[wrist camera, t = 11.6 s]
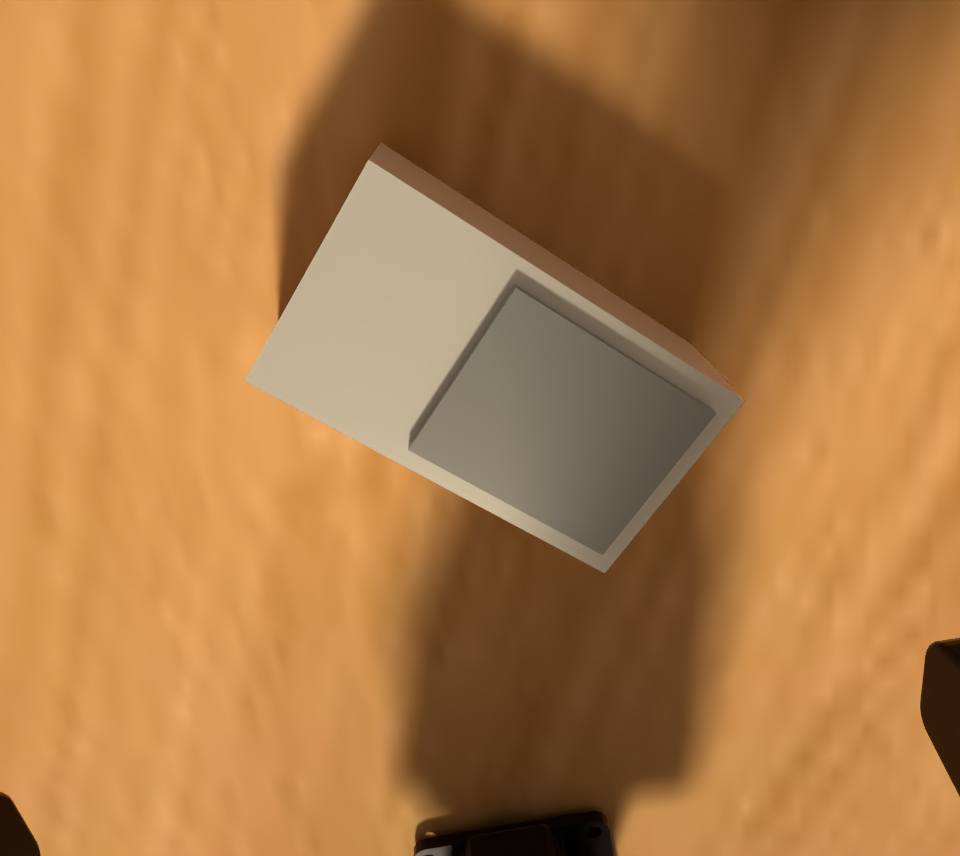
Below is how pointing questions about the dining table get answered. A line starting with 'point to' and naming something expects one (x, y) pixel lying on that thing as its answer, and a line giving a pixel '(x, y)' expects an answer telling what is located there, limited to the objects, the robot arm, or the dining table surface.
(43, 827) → the dining table surface
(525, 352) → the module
